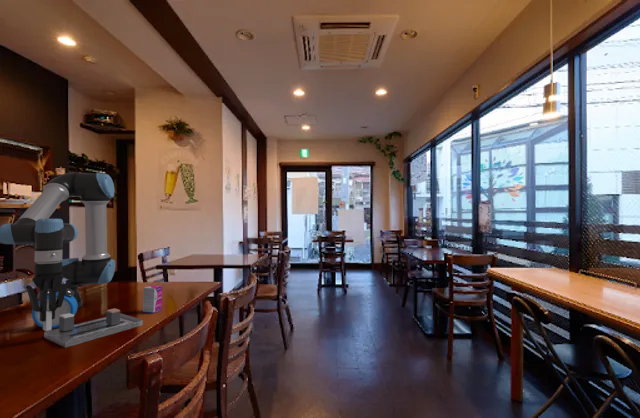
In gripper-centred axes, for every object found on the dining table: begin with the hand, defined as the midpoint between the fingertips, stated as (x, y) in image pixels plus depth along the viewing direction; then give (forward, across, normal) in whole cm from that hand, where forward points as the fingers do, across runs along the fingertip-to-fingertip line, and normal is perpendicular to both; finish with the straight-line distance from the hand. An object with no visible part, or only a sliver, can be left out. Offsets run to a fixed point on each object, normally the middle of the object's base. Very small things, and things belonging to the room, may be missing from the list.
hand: (47, 329), depth 112 cm
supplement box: (+4, +40, +2) cm, 40 cm away
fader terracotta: (+2, +18, -8) cm, 19 cm away
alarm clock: (+4, +8, +15) cm, 17 cm away
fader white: (+2, +6, 0) cm, 6 cm away
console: (+4, +14, -4) cm, 15 cm away
